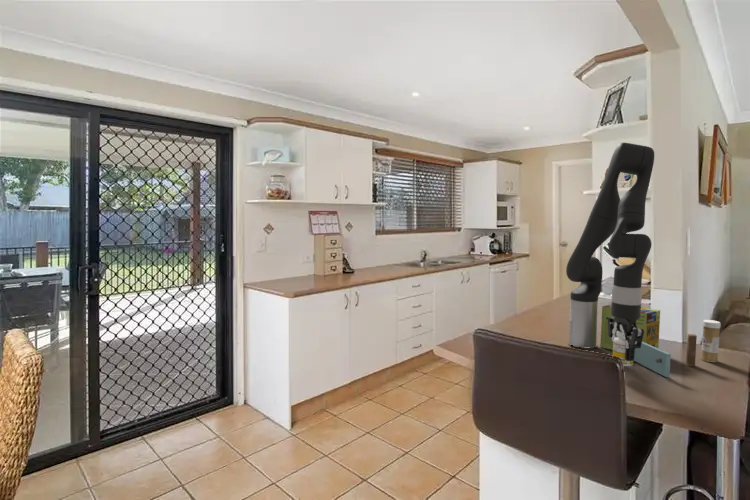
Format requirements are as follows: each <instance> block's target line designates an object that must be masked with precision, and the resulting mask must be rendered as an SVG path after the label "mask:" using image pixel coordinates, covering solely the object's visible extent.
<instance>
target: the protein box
mask: <svg viewBox="0 0 750 500" xmlns="http://www.w3.org/2000/svg"><path fill="white" fill-rule="evenodd" d="M608 318H614V317H613V316H612V315H611V304H608V305H603V306H601V325H600V345H599V346H600V348H602V347H603V349H606V348H607V350H610V349H611V351H613V341H612V338H611V337H609V335H608ZM660 321H661V310H660V309H655V308H654V309H653V308H648V307H642V306H641V316H640V318H639V319H637V320H636V324H637V328H639V329H643V330H644V335H643V339H642V342H644V343H647V344H649V345H651V346H653V347H656V348H658V349H660V348H659V347H660V345H659V344H660V343H659V341H660V328H661V327H660V323H661V322H660ZM612 332H613V329H612Z"/></svg>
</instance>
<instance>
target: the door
mask: <svg viewBox="0 0 750 500" xmlns="http://www.w3.org/2000/svg"><path fill="white" fill-rule="evenodd" d="M636 344H637V341H636ZM671 356H672V355H671V353H670V352H667V351H664V350H663V349H660V348H659V349H658V348H656V347H653V346H651V345H649V344H647V343H644V342H642V344H641V348H636V349H635V354H634V360H633V362H636V363H637V364H640V365H641V366H643V367H645V368H647V369H649V370H651V371H654V372H655V373H657V374H659V375H661V376H663V377H664V378H670V374H671V372H670V371H671Z"/></svg>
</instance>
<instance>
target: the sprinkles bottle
mask: <svg viewBox="0 0 750 500" xmlns="http://www.w3.org/2000/svg"><path fill="white" fill-rule="evenodd" d="M721 326H722V325H721V322H720V321H717V320H714V319H703V320H702V330H703V331H702V339H701V356H700V360H701V361H704V362H706V363H719V360H718V357H719V347H720V329H721Z"/></svg>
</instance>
